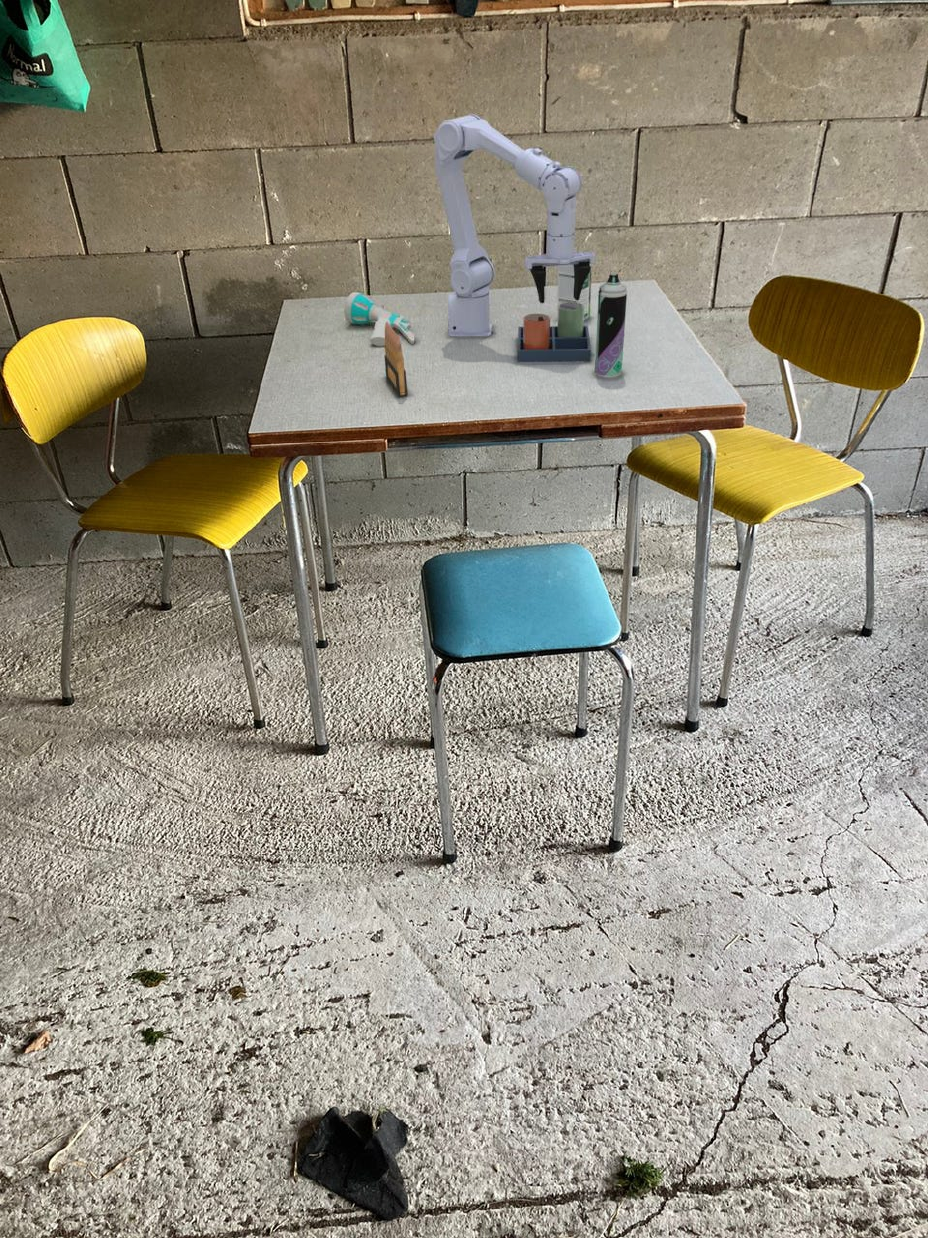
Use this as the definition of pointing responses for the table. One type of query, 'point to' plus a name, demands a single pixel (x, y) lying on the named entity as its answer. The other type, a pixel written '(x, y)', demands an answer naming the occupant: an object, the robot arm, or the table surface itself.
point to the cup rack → (557, 348)
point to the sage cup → (570, 320)
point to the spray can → (610, 327)
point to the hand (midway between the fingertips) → (559, 300)
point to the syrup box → (568, 288)
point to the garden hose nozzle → (375, 318)
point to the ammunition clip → (394, 362)
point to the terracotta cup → (536, 332)
